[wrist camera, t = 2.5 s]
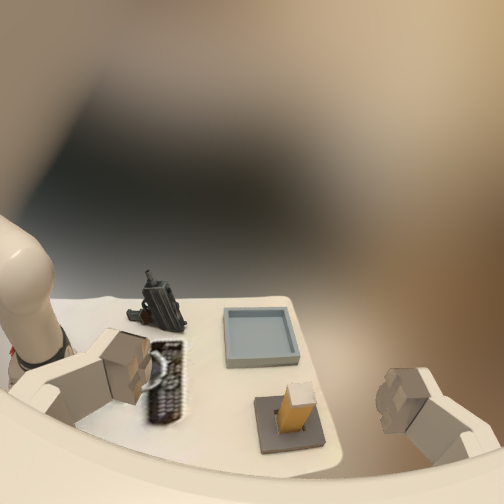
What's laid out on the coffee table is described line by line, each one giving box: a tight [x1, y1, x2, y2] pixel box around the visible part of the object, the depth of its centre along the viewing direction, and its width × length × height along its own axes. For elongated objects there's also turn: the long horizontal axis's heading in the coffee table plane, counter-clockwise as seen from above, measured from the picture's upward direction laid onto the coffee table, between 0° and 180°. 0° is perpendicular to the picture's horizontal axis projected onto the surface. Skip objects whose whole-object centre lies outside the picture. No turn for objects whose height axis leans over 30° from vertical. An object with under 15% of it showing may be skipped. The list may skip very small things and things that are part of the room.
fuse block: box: [254, 395, 326, 454], centre depth 51 cm, size 12×12×2 cm
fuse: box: [276, 382, 317, 434], centre depth 48 cm, size 4×4×13 cm
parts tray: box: [224, 307, 300, 368], centre depth 69 cm, size 16×16×4 cm
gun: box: [126, 270, 187, 331], centre depth 67 cm, size 3×17×15 cm
